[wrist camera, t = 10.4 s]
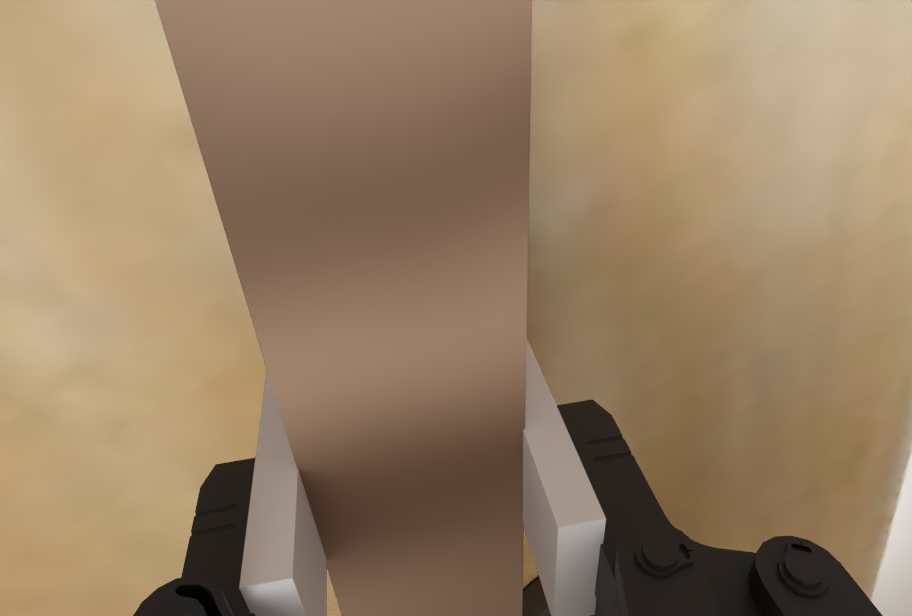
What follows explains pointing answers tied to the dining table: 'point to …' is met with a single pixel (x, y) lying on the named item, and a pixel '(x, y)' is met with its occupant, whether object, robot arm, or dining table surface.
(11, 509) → the dining table surface
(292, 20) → the walnut bar
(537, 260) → the dining table surface
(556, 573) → the robot arm
